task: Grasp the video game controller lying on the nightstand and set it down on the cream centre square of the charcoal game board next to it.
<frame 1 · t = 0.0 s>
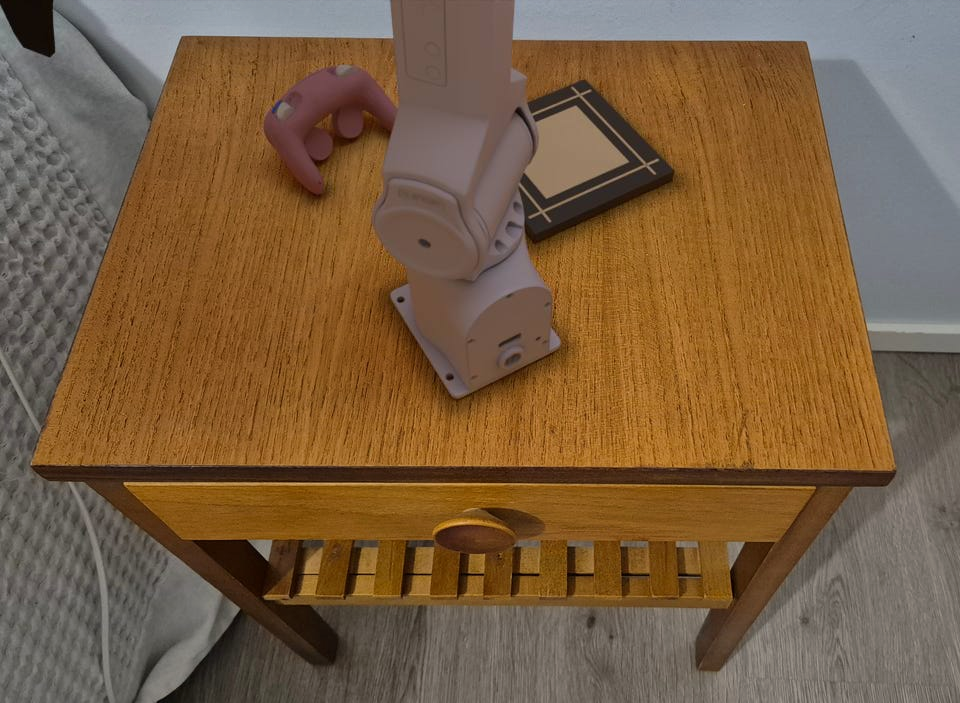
hand: (2, 86, 52), 11 cm above the table, tool pointing down, fingers open, 7 cm apart
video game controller: (340, 151, 63), on the table
board: (561, 160, 62), on the table
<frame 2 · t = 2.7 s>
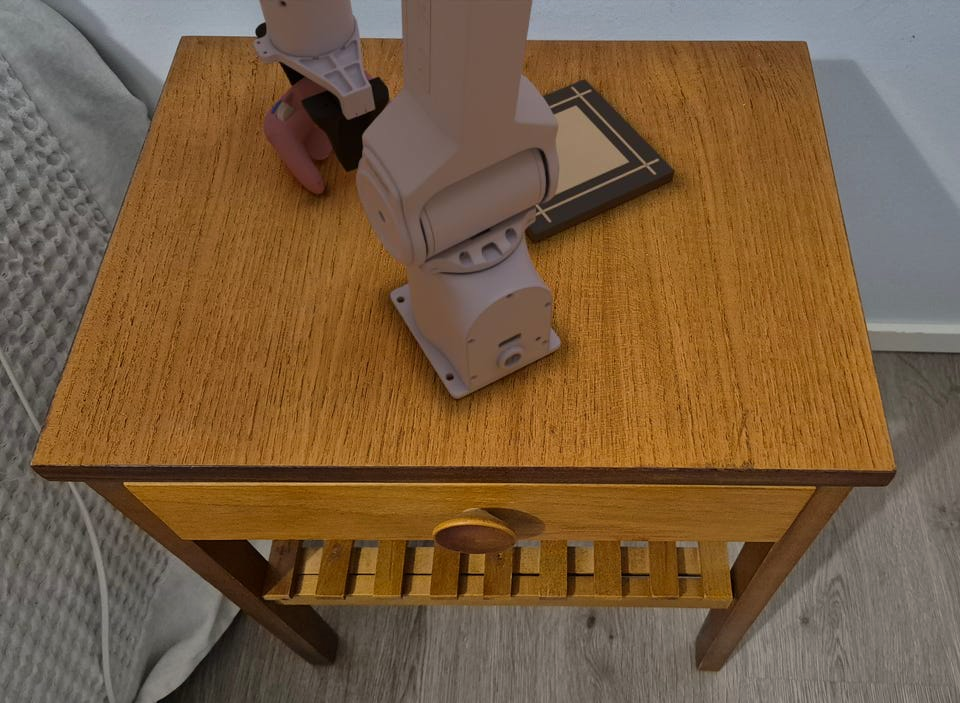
hand: (336, 134, 62), 1 cm above the table, tool pointing down, fingers closed on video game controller, 7 cm apart
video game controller: (340, 151, 63), on the table, touching gripper
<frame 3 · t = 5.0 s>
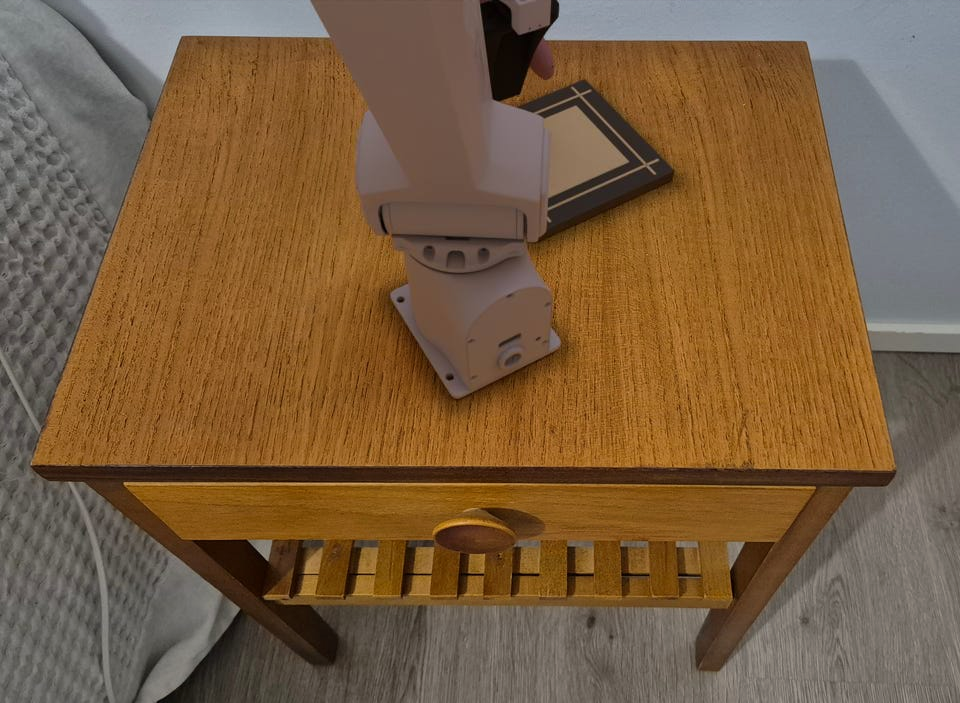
hand: (482, 65, 55), 8 cm above the table, tool pointing down, fingers closed on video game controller, 6 cm apart
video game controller: (478, 88, 57), point 7 cm above the table, touching gripper
when the fingers open (3 cm above the table, at t = 7.4 s): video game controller stays where it is, resting on board.
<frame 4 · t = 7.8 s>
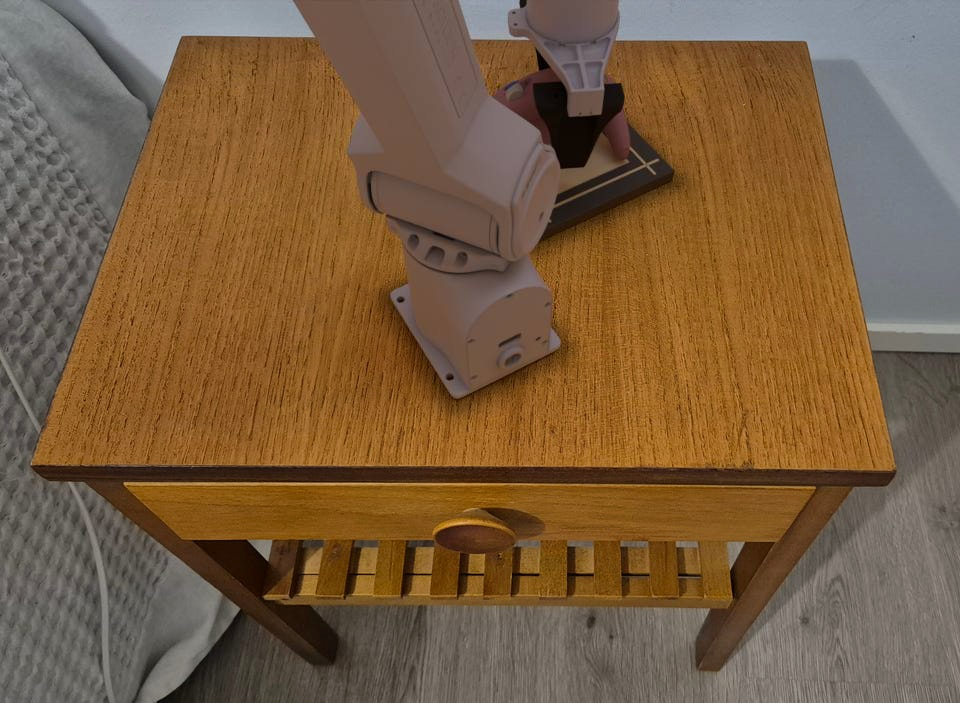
hand: (563, 127, 59), 3 cm above the table, tool pointing down, fingers open, 7 cm apart
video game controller: (557, 152, 61), point 1 cm above the table, touching board
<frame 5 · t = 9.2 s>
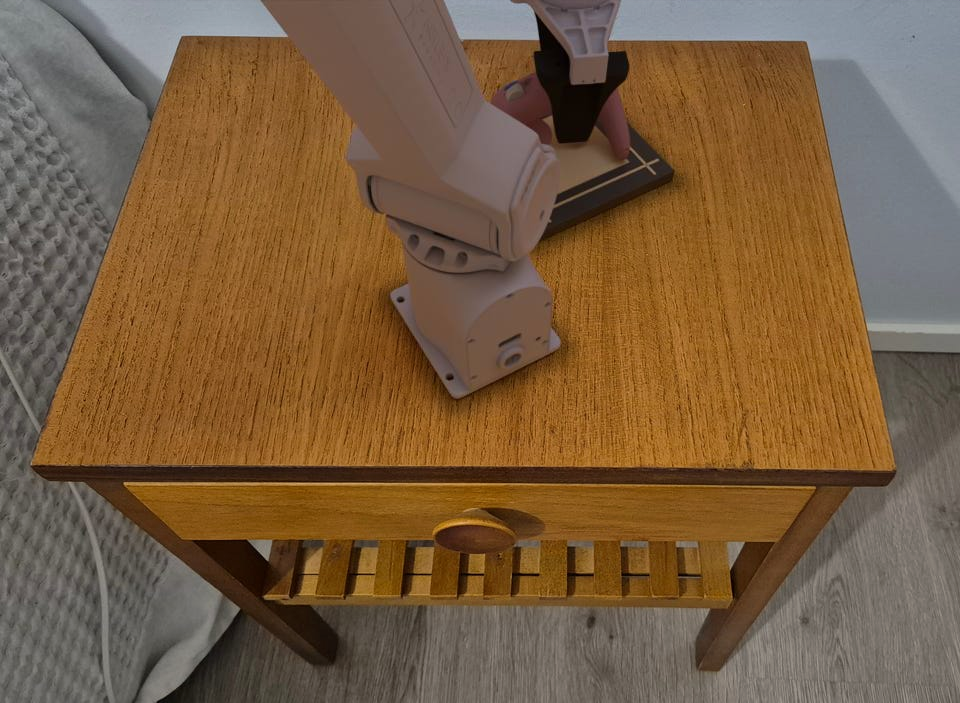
hand: (565, 101, 57), 6 cm above the table, tool pointing down, fingers open, 7 cm apart
nothing on the table moved.
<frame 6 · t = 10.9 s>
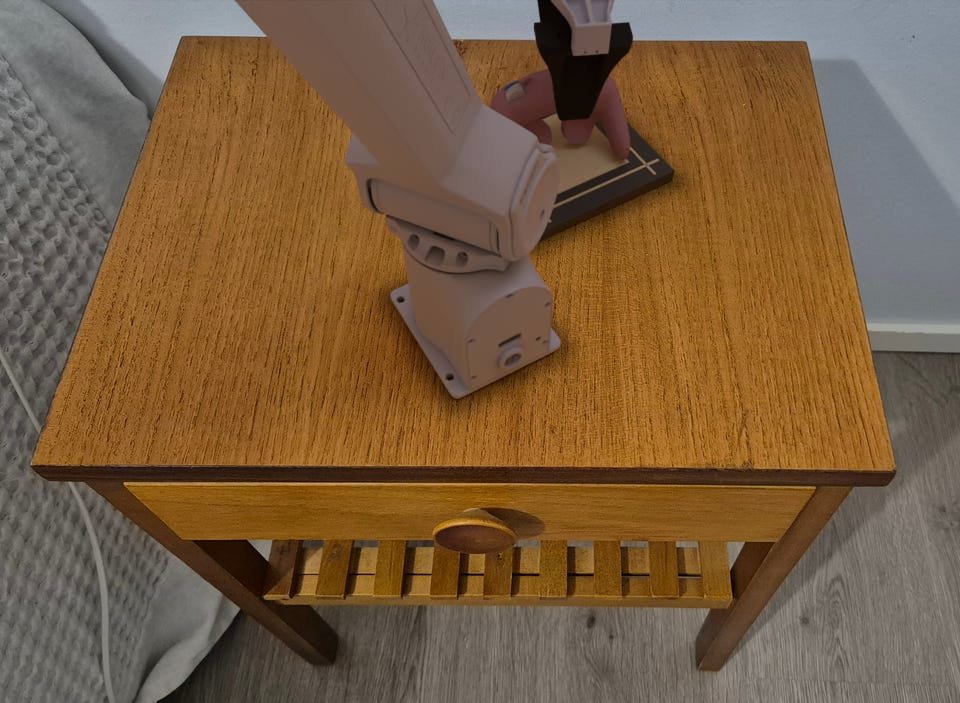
hand: (566, 78, 55), 8 cm above the table, tool pointing down, fingers open, 7 cm apart
nothing on the table moved.
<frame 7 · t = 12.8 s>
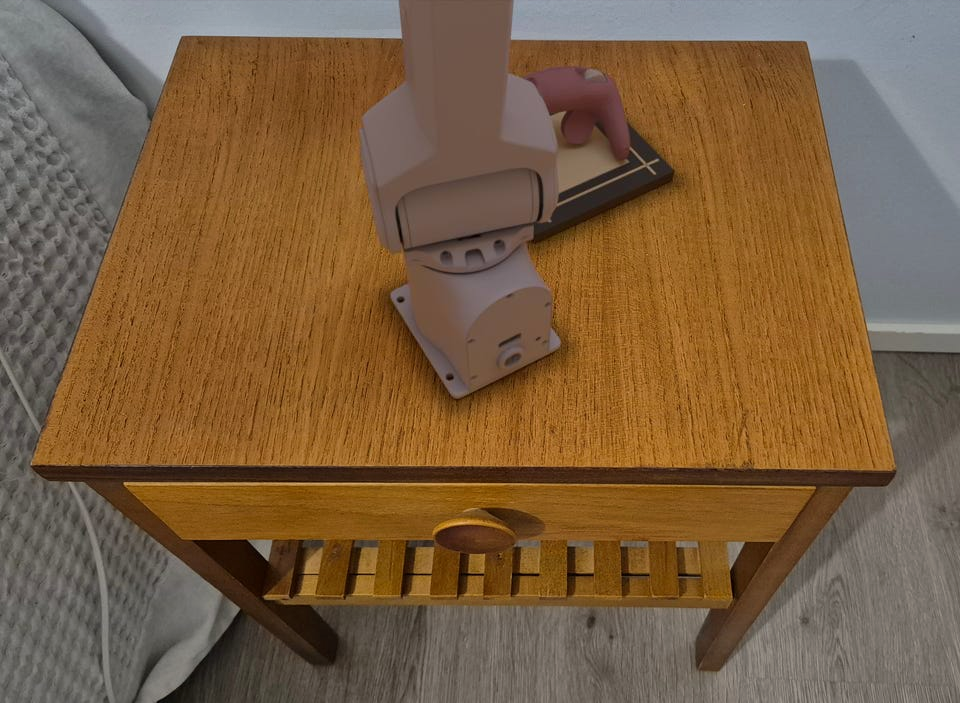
nothing on the table moved.
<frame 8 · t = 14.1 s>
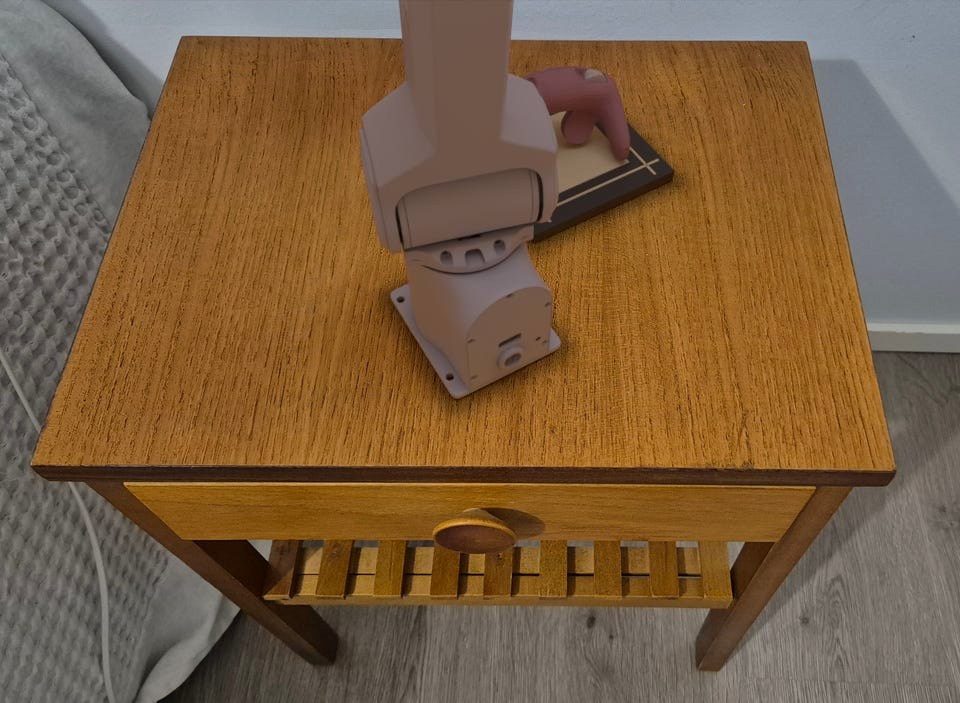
nothing on the table moved.
at the end: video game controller 0.3 cm from the target spot, point 0.9 cm above the table; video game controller tilted 0°; the gripper is holding nothing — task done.
